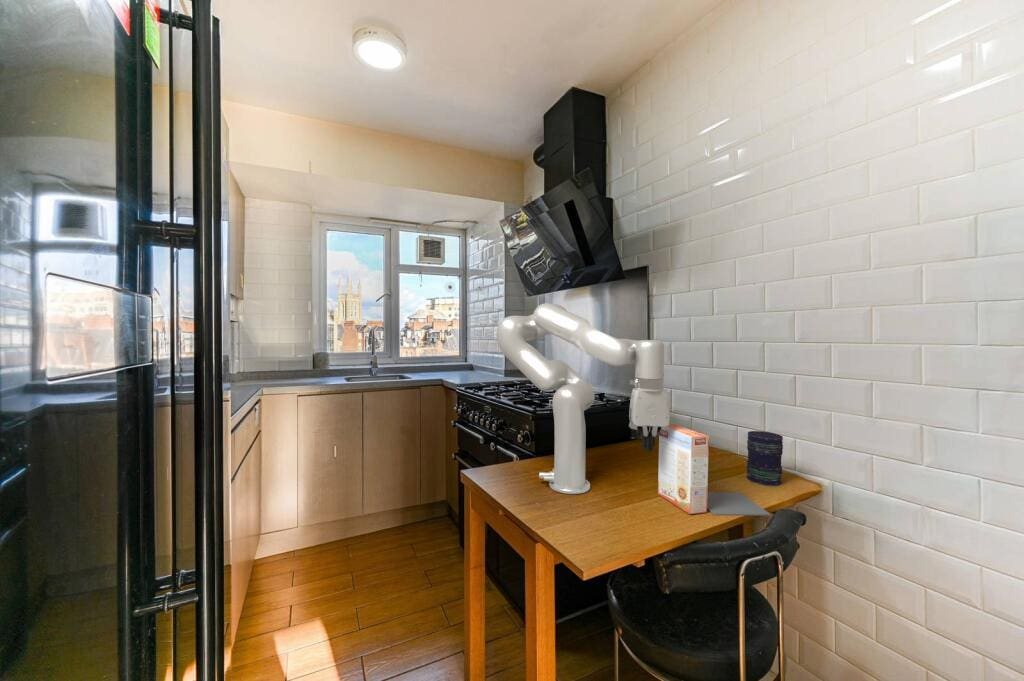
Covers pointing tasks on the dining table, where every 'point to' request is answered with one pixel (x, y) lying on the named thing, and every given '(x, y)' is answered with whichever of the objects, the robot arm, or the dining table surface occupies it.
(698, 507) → the cracker box
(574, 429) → the robot arm
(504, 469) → the dining table surface
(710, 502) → the mat
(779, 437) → the storage jar
